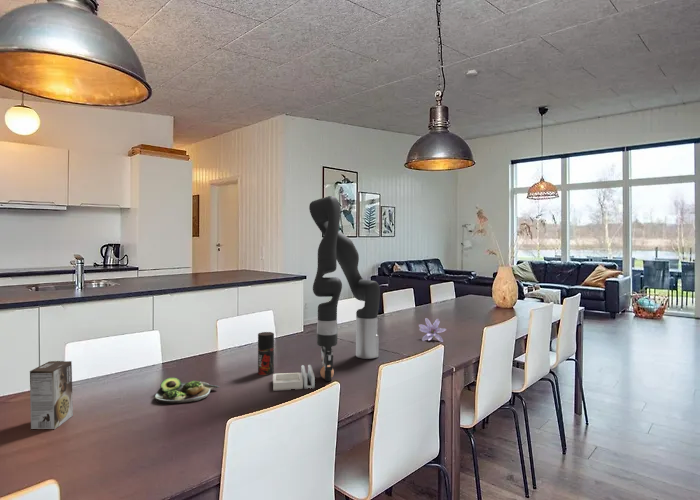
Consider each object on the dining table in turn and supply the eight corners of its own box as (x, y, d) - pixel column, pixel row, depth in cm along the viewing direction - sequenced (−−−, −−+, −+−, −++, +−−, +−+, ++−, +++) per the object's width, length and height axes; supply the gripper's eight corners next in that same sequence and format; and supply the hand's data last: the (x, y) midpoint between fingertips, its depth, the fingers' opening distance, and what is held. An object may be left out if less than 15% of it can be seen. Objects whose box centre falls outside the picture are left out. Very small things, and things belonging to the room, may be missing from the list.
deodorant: (276, 371, 167) (276, 332, 167) (268, 376, 162) (268, 336, 161) (263, 369, 169) (263, 331, 169) (255, 374, 163) (255, 334, 163)
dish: (300, 379, 158) (300, 372, 158) (302, 389, 148) (303, 381, 148) (272, 381, 156) (272, 373, 156) (273, 390, 146) (273, 383, 146)
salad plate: (220, 383, 154) (220, 370, 154) (216, 402, 137) (216, 387, 137) (162, 387, 150) (162, 374, 150) (150, 407, 132) (150, 392, 132)
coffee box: (50, 416, 124) (49, 360, 124) (73, 415, 125) (72, 360, 124) (29, 430, 115) (28, 370, 115) (54, 429, 116) (54, 370, 115)
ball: (332, 376, 162) (332, 363, 161) (334, 380, 157) (334, 367, 156) (319, 377, 161) (319, 363, 160) (321, 381, 156) (321, 367, 156)
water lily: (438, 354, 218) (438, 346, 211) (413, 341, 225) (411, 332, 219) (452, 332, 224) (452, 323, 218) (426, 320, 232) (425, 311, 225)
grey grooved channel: (310, 375, 162) (310, 364, 162) (314, 388, 149) (314, 376, 149) (301, 375, 162) (301, 365, 162) (304, 388, 148) (304, 377, 148)
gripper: (340, 336, 152) (340, 384, 152) (334, 327, 166) (334, 371, 166) (319, 336, 150) (319, 385, 151) (314, 328, 164) (314, 372, 165)
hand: (326, 377), depth 159 cm, fingers closed on ball, 5 cm apart
